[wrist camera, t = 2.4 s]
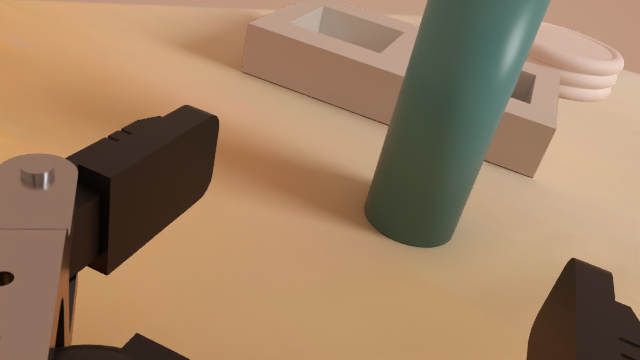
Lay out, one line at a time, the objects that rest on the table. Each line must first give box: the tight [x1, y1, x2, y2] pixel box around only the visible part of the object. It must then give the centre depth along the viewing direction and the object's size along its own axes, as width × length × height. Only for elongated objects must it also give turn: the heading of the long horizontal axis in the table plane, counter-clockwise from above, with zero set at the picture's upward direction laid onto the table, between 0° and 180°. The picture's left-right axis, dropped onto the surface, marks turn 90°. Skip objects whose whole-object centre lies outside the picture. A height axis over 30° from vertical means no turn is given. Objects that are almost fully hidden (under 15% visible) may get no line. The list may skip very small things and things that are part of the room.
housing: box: [241, 0, 560, 178], centre depth 37 cm, size 18×11×3 cm, turn 68°
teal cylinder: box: [364, 0, 551, 247], centre depth 22 cm, size 4×4×11 cm
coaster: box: [526, 22, 624, 102], centre depth 47 cm, size 10×10×4 cm
